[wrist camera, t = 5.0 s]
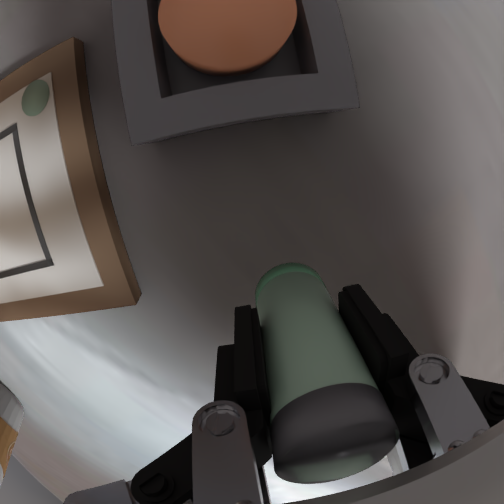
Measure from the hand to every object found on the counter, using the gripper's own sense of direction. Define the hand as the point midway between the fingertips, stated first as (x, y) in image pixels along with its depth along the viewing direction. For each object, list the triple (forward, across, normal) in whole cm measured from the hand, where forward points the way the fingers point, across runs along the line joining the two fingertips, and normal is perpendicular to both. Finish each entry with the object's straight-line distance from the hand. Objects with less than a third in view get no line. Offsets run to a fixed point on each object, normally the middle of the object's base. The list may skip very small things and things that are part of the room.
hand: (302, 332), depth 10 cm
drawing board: (+6, +18, -7) cm, 20 cm away
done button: (+4, +1, -12) cm, 13 cm away
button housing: (+6, +1, -12) cm, 14 cm away
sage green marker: (+3, 0, 0) cm, 3 cm away
